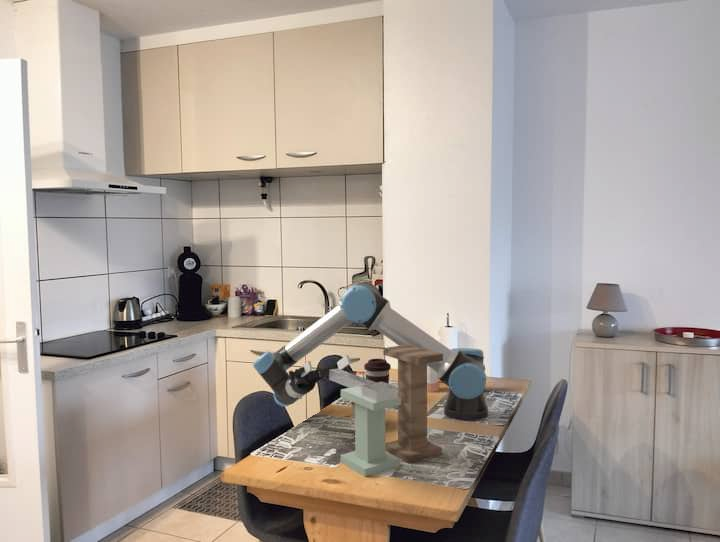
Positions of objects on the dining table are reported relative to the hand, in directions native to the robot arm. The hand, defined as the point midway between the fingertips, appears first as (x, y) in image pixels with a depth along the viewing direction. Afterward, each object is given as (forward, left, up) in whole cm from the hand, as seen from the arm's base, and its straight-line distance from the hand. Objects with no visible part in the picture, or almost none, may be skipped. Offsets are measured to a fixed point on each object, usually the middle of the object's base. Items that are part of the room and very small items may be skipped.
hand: (329, 362), depth 183 cm
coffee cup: (-11, -46, -25) cm, 53 cm away
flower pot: (-9, -18, -25) cm, 32 cm away
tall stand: (-25, +6, -25) cm, 36 cm away
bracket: (-10, +12, -5) cm, 16 cm away
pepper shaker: (-31, -61, -25) cm, 73 cm away
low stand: (-13, +16, -25) cm, 32 cm away
